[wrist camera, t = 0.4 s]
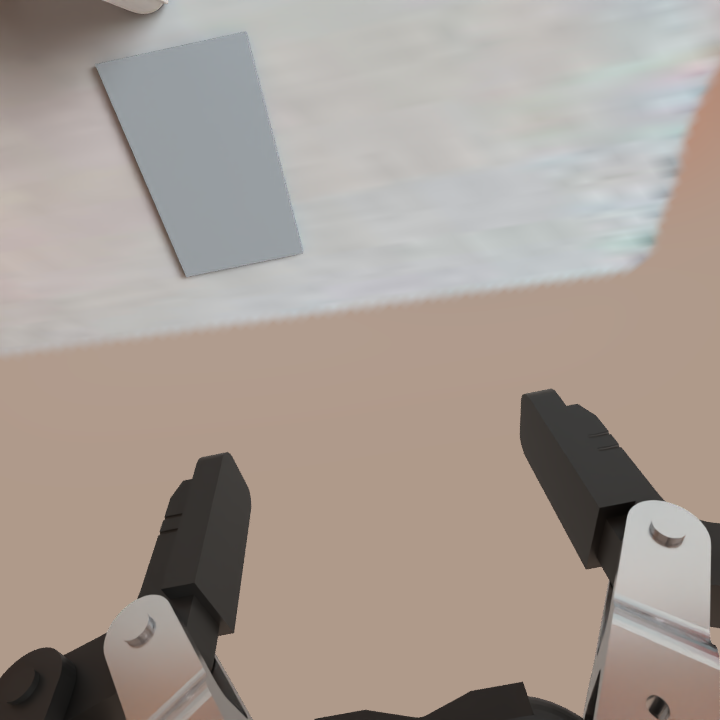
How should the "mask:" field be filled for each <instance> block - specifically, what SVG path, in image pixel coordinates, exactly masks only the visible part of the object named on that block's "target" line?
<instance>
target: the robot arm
mask: <svg viewBox="0 0 720 720" xmlns="http://www.w3.org/2000/svg"><path fill="white" fill-rule="evenodd" d="M520 440H521V445H522V448H523V451H524V454H525V456H526V458H527V460H528V462H529V464H530V466H531V468H532V470H533V471H534V473H535V475H536V477H537V479H538V481H539V483H540V484H541V486H542V488H543V490H544V492H545V494H546V496H547V498H548V499H549V501H550V503H551V505H552V507H553V509H554V511H555V512H556V514H557V516H558V518H559V520H560V522H561V523H562V525H563V527H564V529H565V531H566V533H567V535H568V537H569V539H570V540H571V542H572V544H573V546H574V548H575V550H576V552H577V553H578V555H579V557H580V559H581V561H582V563H583V565H584V567H585V568H586V569H591V568H597V567H602V568H603V570H604V572H605V573H606V575H607V577H608V579H609V583H608V588H607V593H606V599H605V605H604V610H603V616H602V621H601V626H600V632H599V637H598V643H597V649H596V654H595V660H594V665H593V669H592V674H591V678H590V682H589V687H588V692H587V697H586V702H585V708H584V713H583V718H581V717H580V716H578V715H576V714H575V713H573V712H572V711H570V710H568V709H566V708H564V707H562V706H560V705H557V704H555V703H553V702H550V701H547V700H543V699H540V698H536V697H529V696H527V693H526V690H525V687H524V684H523V682H519V683H514V684H508V685H503V686H497V687H491V688H486V689H480V690H474V691H470V692H469V693H467V694H465V695H463V696H461V697H460V698H458V699H456V700H454V701H452V702H450V703H448V704H447V705H445V706H443V707H441V708H439V709H437V710H435V711H434V712H432V713H430V714H428V715H426V716H424V717H420V718H415V717H407V716H401V715H395V714H388V713H382V712H375V711H369V710H362V711H357V712H351V713H345V714H340V715H334V716H329V717H323V718H318V719H315V720H720V660H719V653H718V649H717V647H716V646H715V645H713V644H712V643H711V640H710V627H716V628H720V524H719V523H711V522H706V521H701V520H699V519H698V518H697V517H695V516H694V515H693V514H691V513H690V512H689V511H687V510H685V509H684V508H682V507H679V506H677V505H675V504H672V503H668V502H666V501H664V500H663V499H662V498H661V497H660V495H659V494H658V493H657V492H656V491H655V489H654V488H653V487H652V485H651V484H650V483H649V482H648V480H647V479H646V478H645V477H644V475H643V474H642V473H641V471H640V470H639V469H638V468H637V466H636V465H635V464H634V463H633V461H632V460H631V459H630V458H629V456H628V455H627V454H626V453H625V451H624V450H623V449H622V448H621V447H619V444H618V443H617V441H616V440H615V439H614V438H613V437H612V435H611V434H609V433H608V430H607V429H606V428H605V426H604V425H603V424H602V422H601V421H600V420H599V419H598V418H597V416H596V415H594V414H593V413H591V412H589V411H588V410H586V409H585V408H583V407H581V406H580V405H578V404H575V405H569V406H566V405H565V404H564V402H563V401H562V399H561V398H560V397H559V395H558V394H557V393H556V391H555V390H553V389H547V390H542V391H538V392H532V393H527V394H524V395H522V398H521V418H520ZM250 512H251V498H250V492H249V489H248V487H247V484H246V482H245V480H244V479H243V477H242V475H241V473H240V471H239V469H238V467H237V465H236V463H235V461H234V459H233V457H232V456H231V454H229V453H228V452H226V453H221V454H216V455H211V456H206V457H202V458H200V459H199V460H198V462H197V464H196V468H195V472H194V475H193V479H190V480H185V481H183V482H182V483H181V485H180V486H179V487H178V489H177V490H176V491H175V493H174V494H173V496H172V497H171V498H170V502H169V505H168V508H167V511H166V514H165V520H164V521H163V523H162V526H161V529H160V535H159V536H158V538H157V542H156V545H155V548H154V551H153V554H152V557H151V560H150V563H149V566H148V569H147V573H146V575H145V579H144V582H143V585H142V588H141V591H140V594H139V596H138V598H137V600H135V601H134V602H132V603H131V604H129V605H128V606H127V607H126V608H124V609H123V610H122V611H121V612H120V613H119V614H118V616H117V617H116V618H115V620H114V621H113V622H112V624H111V626H110V628H109V630H108V632H107V633H105V634H103V635H102V636H100V637H98V638H96V639H94V640H92V641H91V642H88V643H86V644H85V645H83V646H81V647H79V648H77V649H75V650H73V651H71V652H69V653H67V654H65V655H62V654H61V653H59V652H58V651H57V650H55V649H53V648H40V649H37V650H34V651H32V652H30V653H28V654H26V655H25V656H23V657H22V658H20V659H19V660H18V661H16V662H15V663H14V664H13V665H12V666H11V667H10V668H9V669H8V670H7V671H6V672H5V673H4V674H3V675H2V677H1V678H0V720H253V719H252V717H251V716H250V714H249V712H248V710H247V708H246V707H245V705H244V703H243V701H242V700H241V698H240V696H239V694H238V692H237V691H236V689H235V687H234V685H233V683H232V682H231V680H230V678H229V676H228V675H227V673H226V671H225V670H224V668H223V666H222V664H221V662H220V661H219V659H218V657H217V655H216V654H215V651H216V645H217V638H218V636H221V635H226V634H231V633H234V629H235V621H236V614H237V607H238V600H239V593H240V585H241V578H242V571H243V563H244V556H245V548H246V542H247V534H248V527H249V519H250Z"/></svg>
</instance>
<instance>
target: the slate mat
mask: <svg viewBox="0 0 720 720" xmlns="http://www.w3.org/2000/svg"><path fill="white" fill-rule="evenodd" d="M95 65H96V68H97V70H98V72H99V75H100V77H101V79H102V82H103V84H104V86H105V89H106V91H107V93H108V96H109V98H110V100H111V103H112V105H113V107H114V110H115V112H116V114H117V117H118V119H119V121H120V124H121V126H122V128H123V131H124V133H125V135H126V138H127V140H128V142H129V145H130V147H131V149H132V152H133V154H134V156H135V159H136V161H137V163H138V166H139V168H140V170H141V173H142V175H143V177H144V180H145V182H146V184H147V187H148V189H149V191H150V194H151V196H152V198H153V201H154V203H155V205H156V208H157V210H158V212H159V215H160V217H161V219H162V222H163V224H164V226H165V229H166V231H167V233H168V236H169V238H170V240H171V243H172V245H173V247H174V250H175V252H176V254H177V257H178V259H179V261H180V264H181V266H182V268H183V270H184V273H185V275H186V277H189V276H194V275H199V274H204V273H209V272H214V271H219V270H224V269H228V268H233V267H238V266H243V265H248V264H253V263H258V262H263V261H268V260H273V259H278V258H282V257H287V256H292V255H297V254H302V253H303V249H302V245H301V241H300V237H299V234H298V230H297V226H296V222H295V218H294V214H293V210H292V207H291V203H290V199H289V195H288V191H287V187H286V183H285V179H284V176H283V172H282V168H281V164H280V160H279V156H278V152H277V149H276V145H275V141H274V137H273V133H272V129H271V125H270V122H269V118H268V114H267V110H266V106H265V102H264V98H263V95H262V91H261V87H260V83H259V79H258V75H257V71H256V68H255V64H254V60H253V56H252V52H251V48H250V44H249V41H248V37H247V33H246V32H241V33H237V34H232V35H227V36H223V37H218V38H214V39H209V40H204V41H200V42H195V43H191V44H186V45H182V46H177V47H172V48H168V49H163V50H159V51H154V52H149V53H145V54H140V55H136V56H131V57H126V58H122V59H117V60H113V61H108V62H104V63H99V64H95Z"/></svg>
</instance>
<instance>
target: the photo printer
mask: <svg viewBox="0 0 720 720" xmlns="http://www.w3.org/2000/svg"><path fill="white" fill-rule="evenodd" d="M103 1H105V2H108V3H111V4H113V5H116V6H118V7H121V8H124V9H126V10H129V11H132V12H135V13H139V14H149V13H152V12H155V11H156V10H158V9H159V8H160V7H161V6H162V5H163V3H164V4H168V0H103Z"/></svg>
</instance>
